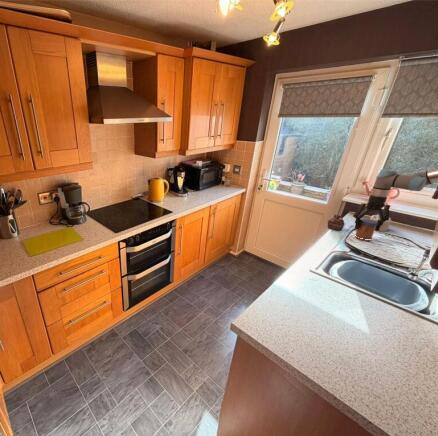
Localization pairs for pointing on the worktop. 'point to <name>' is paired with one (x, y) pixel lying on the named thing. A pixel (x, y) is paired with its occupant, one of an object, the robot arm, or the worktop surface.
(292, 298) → the worktop surface
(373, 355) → the worktop surface
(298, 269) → the worktop surface
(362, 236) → the jar
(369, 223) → the lid
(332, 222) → the cupcake
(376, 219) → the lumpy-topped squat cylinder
